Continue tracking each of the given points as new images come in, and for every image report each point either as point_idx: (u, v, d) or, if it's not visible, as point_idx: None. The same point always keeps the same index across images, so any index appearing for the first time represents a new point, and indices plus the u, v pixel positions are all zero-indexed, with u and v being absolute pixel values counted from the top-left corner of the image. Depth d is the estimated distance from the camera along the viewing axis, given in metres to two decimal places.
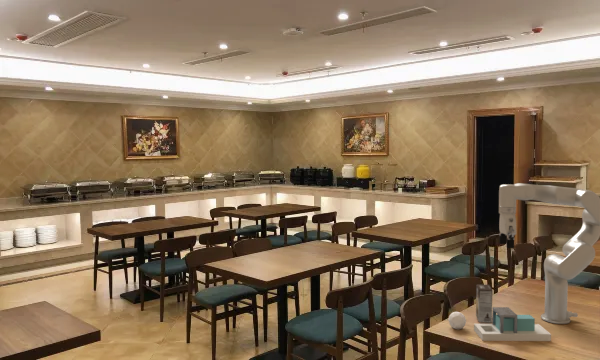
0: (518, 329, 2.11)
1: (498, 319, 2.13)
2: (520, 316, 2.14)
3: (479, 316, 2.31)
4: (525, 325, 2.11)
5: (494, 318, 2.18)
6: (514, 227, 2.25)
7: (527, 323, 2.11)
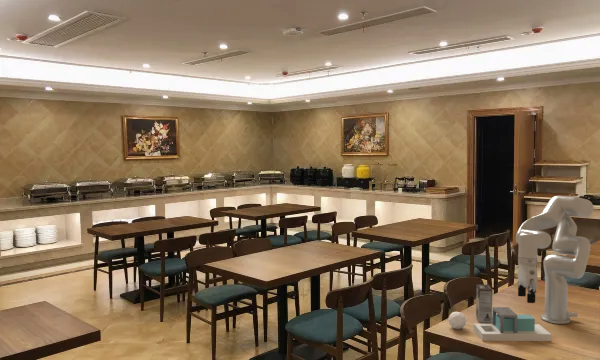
0: (518, 329, 2.11)
1: (498, 319, 2.13)
2: (520, 316, 2.14)
3: (479, 316, 2.31)
4: (525, 325, 2.11)
5: (494, 318, 2.18)
6: (535, 280, 2.07)
7: (527, 323, 2.11)
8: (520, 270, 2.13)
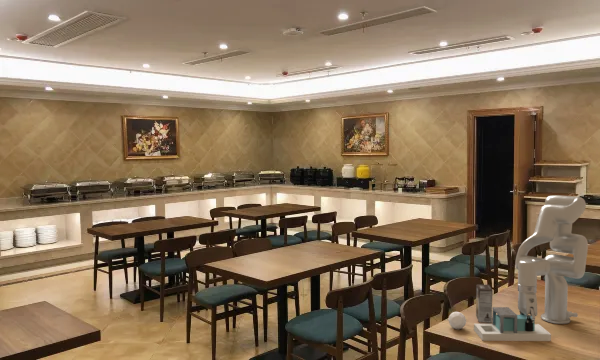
0: (518, 329, 2.11)
1: (498, 319, 2.13)
2: (520, 316, 2.14)
3: (479, 316, 2.31)
4: None
5: (494, 318, 2.18)
6: (535, 308, 2.08)
7: None
8: (520, 297, 2.14)
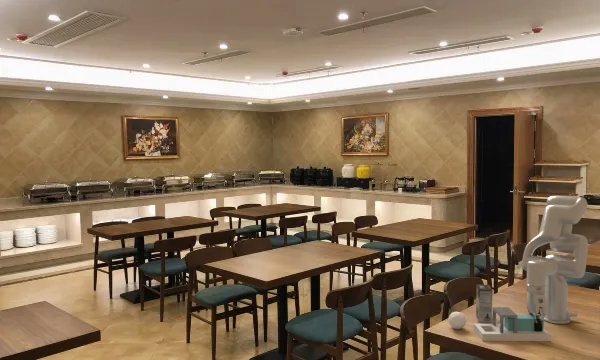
0: (527, 329, 2.11)
1: (507, 319, 2.13)
2: (529, 316, 2.14)
3: (479, 316, 2.31)
4: None
5: (494, 318, 2.18)
6: (544, 308, 2.08)
7: None
8: (529, 297, 2.14)
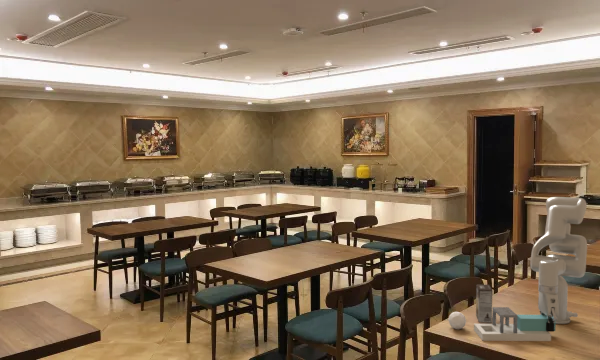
0: (539, 329, 2.11)
1: (519, 319, 2.13)
2: (541, 316, 2.13)
3: (479, 316, 2.31)
4: None
5: (494, 318, 2.18)
6: (556, 308, 2.07)
7: None
8: (540, 297, 2.13)
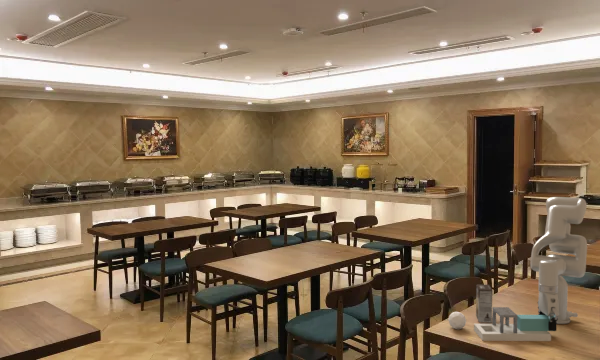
0: (539, 329, 2.11)
1: (519, 319, 2.13)
2: (541, 316, 2.13)
3: (479, 316, 2.31)
4: (546, 325, 2.11)
5: (494, 318, 2.18)
6: (556, 308, 2.07)
7: None
8: (541, 297, 2.13)
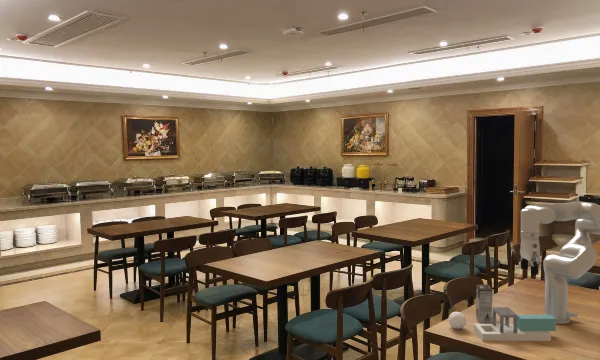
0: (539, 329, 2.11)
1: (519, 319, 2.13)
2: (541, 316, 2.13)
3: (479, 316, 2.31)
4: (546, 325, 2.11)
5: (494, 318, 2.18)
6: (538, 253, 2.17)
7: (548, 323, 2.11)
8: (523, 244, 2.23)
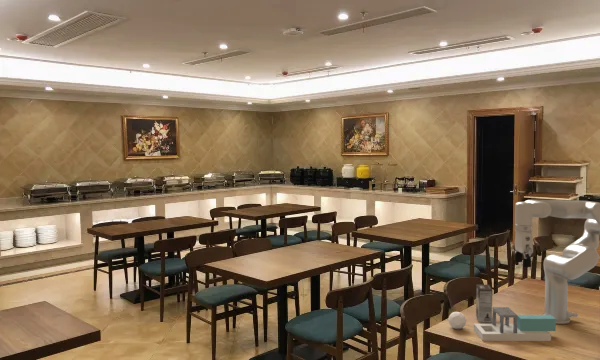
0: (539, 329, 2.11)
1: (519, 319, 2.13)
2: (541, 316, 2.13)
3: (479, 316, 2.31)
4: (546, 325, 2.11)
5: (494, 318, 2.18)
6: (531, 246, 2.21)
7: (548, 323, 2.11)
8: (517, 237, 2.27)
